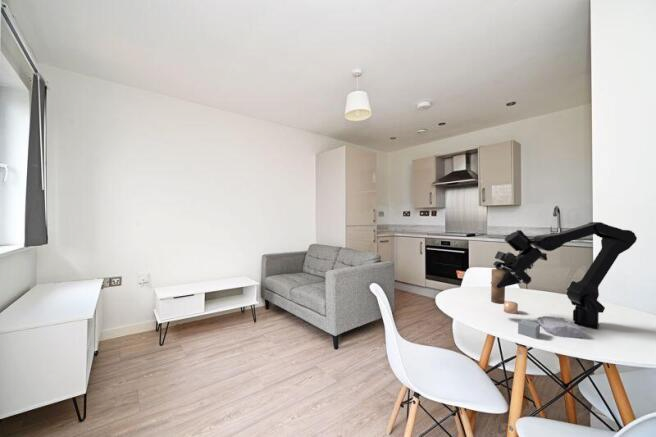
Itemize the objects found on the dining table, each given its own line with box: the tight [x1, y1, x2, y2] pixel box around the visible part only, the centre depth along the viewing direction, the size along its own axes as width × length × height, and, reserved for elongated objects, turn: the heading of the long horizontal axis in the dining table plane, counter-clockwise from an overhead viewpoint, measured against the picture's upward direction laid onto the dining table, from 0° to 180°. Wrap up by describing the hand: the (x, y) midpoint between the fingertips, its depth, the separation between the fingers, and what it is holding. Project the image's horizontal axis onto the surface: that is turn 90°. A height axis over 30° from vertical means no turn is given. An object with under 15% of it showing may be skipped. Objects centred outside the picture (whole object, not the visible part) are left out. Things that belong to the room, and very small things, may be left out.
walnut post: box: [490, 268, 506, 305], centre depth 107 cm, size 5×5×13 cm
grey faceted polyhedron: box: [517, 319, 541, 340], centre depth 92 cm, size 5×5×4 cm
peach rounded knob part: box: [503, 300, 519, 315], centre depth 114 cm, size 5×5×4 cm
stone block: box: [536, 315, 583, 339], centre depth 96 cm, size 12×5×10 cm
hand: (494, 285), depth 107 cm, fingers closed on walnut post, 5 cm apart
